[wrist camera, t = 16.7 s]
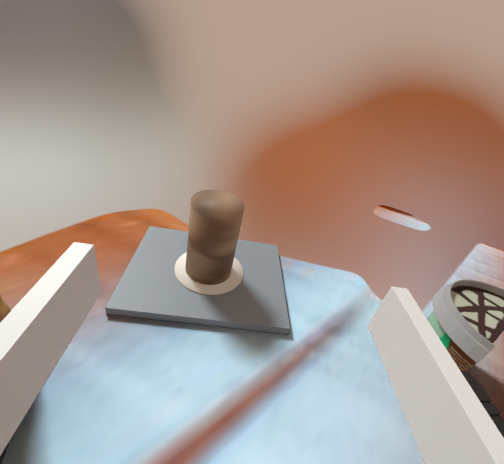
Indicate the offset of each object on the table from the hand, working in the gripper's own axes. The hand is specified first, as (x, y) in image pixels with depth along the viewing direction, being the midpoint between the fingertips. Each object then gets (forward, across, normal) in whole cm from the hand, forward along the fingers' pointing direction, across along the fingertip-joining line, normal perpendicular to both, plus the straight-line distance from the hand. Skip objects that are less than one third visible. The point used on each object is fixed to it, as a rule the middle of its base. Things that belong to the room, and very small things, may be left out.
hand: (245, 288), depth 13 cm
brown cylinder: (+19, -3, -16) cm, 25 cm away
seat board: (+19, -2, -17) cm, 26 cm away
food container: (+10, +25, -18) cm, 32 cm away
